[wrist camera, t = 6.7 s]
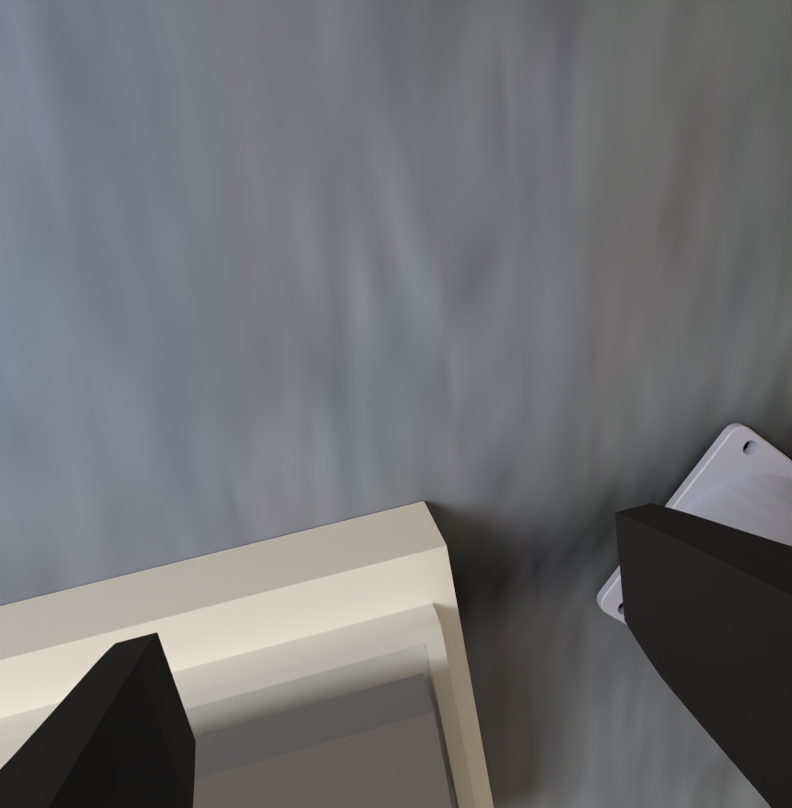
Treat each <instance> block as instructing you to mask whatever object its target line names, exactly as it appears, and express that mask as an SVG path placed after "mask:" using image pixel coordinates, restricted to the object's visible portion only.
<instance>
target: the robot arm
mask: <svg viewBox="0 0 792 808" xmlns="http://www.w3.org/2000/svg"><path fill="white" fill-rule="evenodd" d="M748 441H749V445H748V447H747V448H746V449H745V450H743V447H744V445H745V443H746V442H748ZM615 518H616V529H617V541H618V553H619V564H620V565H619V567H618V568H617V569H616V570H615V572H614V573H613V574H612V576H611V577H610V578H609V579H608V581H607V582H606V583H605V585H604V586H603V587H602V589H601V590H600V591H599V593H598V595H597V603H598V605H599V607H600V608H601V609H602V610H603V611H604V612H605V613H607V614H608V615H610V616H612V617H614V618H615V619H617V620H619V621H621V622H622V623H624V624H626V625H627V626H628V627H629V629H630V630H631V632H632V633H633V635H634V637H635V638H636V640H637V641H638V643H639V645H640V646H641V648H642V649H643V651H644V652H645V654H646V655H647V657H648V658H649V660H650V661H651V663H652V664H653V666H654V667H655V669H656V670H657V672H658V673H659V675H660V676H661V677H662V679H663V680H664V681H665V682H666V683H667V685H668V686H669V687H670V688H671V690H672V691H673V692H674V693H675V694H676V696H677V697H678V698H679V699H680V700H681V701H682V703H683V704H684V705H685V706H686V707H687V709H688V710H689V711H690V712H691V713H692V715H693V716H694V717H695V718H696V719H697V721H698V722H699V723H700V724H701V725H702V726H703V728H704V729H705V730H706V731H707V732H708V733H709V735H710V736H711V737H712V738H713V739H714V740H715V742H716V743H717V744H718V745H719V746H720V748H721V749H722V750H723V751H724V752H725V753H726V755H727V756H728V757H729V758H730V759H731V760H732V762H733V763H734V764H735V765H736V766H737V767H738V769H739V770H740V771H741V772H742V773H743V775H744V776H745V777H746V778H747V779H748V780H749V782H750V783H751V784H752V785H753V786H754V787H755V789H756V790H757V791H758V792H759V793H760V794H761V796H762V797H763V798H764V799H765V800H766V802H767V803H768V804H769V805H770V807H771V808H792V460H790V459H789V458H788V457H787V456H785V455H784V454H783V453H781V452H780V451H779V450H777V449H776V448H775V447H773V446H772V445H771V444H769V443H768V442H767V441H765V440H764V439H763V438H761V437H760V436H759V435H757V434H756V433H755V432H753V431H752V430H751V429H749V428H748V427H746V426H743V425H741V424H739V423H734V424H731V425H729V426H727V427H726V428H725V429H724V430H723V431H722V433H721V434H720V435H719V437H718V438H717V439H716V441H715V442H714V443H713V444H712V446H711V447H710V448H709V450H708V451H707V452H706V454H705V455H704V456H703V457H702V459H701V460H700V461H699V463H698V464H697V465H696V467H695V468H694V469H693V470H692V472H691V473H690V474H689V476H688V477H687V478H686V480H685V481H684V482H683V483H682V485H681V486H680V487H679V489H678V490H677V491H676V492H675V494H674V495H673V496H672V498H671V499H670V500H669V502H668V503H667V504H666V505H665V507H664V506H660V505H656V504H651V503H650V504H646V505H643V506H639V507H635V508H631V509H627V510H623V511H620V512H616V513H615ZM621 603H623V607H621V608H618V607H619V605H620V604H621ZM195 752H196V740H195V738H194V735H193V732H192V729H191V726H190V724H189V721H188V718H187V715H186V712H185V709H184V707H183V704H182V701H181V698H180V695H179V692H178V690H177V687H176V684H175V681H174V678H173V675H172V673H171V670H170V667H169V664H168V661H167V658H166V656H165V653H164V650H163V647H162V644H161V642H160V639H159V636H158V633H157V632H156V633H152V634H149V635H145V636H141V637H137V638H133V639H129V640H126V641H122V642H118V643H115V644H114V645H113V646H112V647H111V648H110V649H109V650H108V651H107V652H106V653H105V654H104V655H103V656H102V657H101V658H100V659H99V660H98V661H97V662H96V663H95V664H94V666H93V667H92V668H91V669H90V670H89V671H88V672H87V673H86V674H85V676H84V677H83V678H82V679H81V680H80V681H79V682H78V684H77V685H76V686H75V687H74V688H73V689H72V690H71V691H70V693H69V694H68V695H67V696H66V697H65V698H64V699H63V701H62V702H61V703H60V704H59V705H58V706H57V707H56V708H55V710H54V711H53V712H52V713H51V714H50V715H49V716H48V717H47V719H46V720H45V721H44V722H43V723H42V724H41V725H40V726H39V727H38V729H37V730H36V731H35V732H34V733H33V734H32V735H31V736H30V737H29V739H28V740H27V741H26V742H25V743H24V744H23V745H22V746H21V748H20V749H19V750H18V751H17V752H16V753H15V754H14V755H13V756H12V757H11V758H10V760H9V761H8V762H7V763H6V764H5V765H4V766H3V767H2V768H1V769H0V808H193V798H194V781H195Z"/></svg>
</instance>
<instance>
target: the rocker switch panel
mask: <svg viewBox="0 0 792 808" xmlns="http://www.w3.org/2000/svg"><path fill="white" fill-rule="evenodd" d="M156 632H157V633H158V636H159V639H160V642H161V644H162V647H163V650H164V653H165V656H166V658H167V661H168V664H169V667H170V670H171V673H172V675H173V678H174V681H175V684H176V687H177V690H178V692H179V695H180V698H181V701H182V704H183V707H184V709H185V712H186V715H187V718H188V721H189V724H190V726H191V729H192V732H193V735H194V737H195V736H198V735H202V734H205V733H209V732H213V731H216V730H220V729H223V728H227V727H231V726H234V725H238V724H241V723H245V722H249V721H252V720H256V719H259V718H263V717H266V716H270V715H274V714H277V713H281V712H284V711H288V710H292V709H295V708H299V707H302V706H306V705H310V704H313V703H317V702H320V701H324V700H328V699H331V698H335V697H338V696H342V695H346V694H349V693H353V692H356V691H360V690H363V689H367V688H371V687H374V686H378V685H381V684H385V683H389V682H392V681H396V680H399V679H403V678H407V677H410V676H414V675H417V674H421V673H423V675H424V679H425V682H426V685H427V689H428V692H429V695H430V699H431V702H432V706H433V709H434V713H435V718H436V724H437V729H438V734H439V740H440V745H441V750H442V756H443V761H444V767H445V772H446V777H447V783H448V788H449V794H450V799H451V804H452V808H494V806H493V801H492V795H491V790H490V784H489V778H488V773H487V767H486V762H485V756H484V751H483V745H482V740H481V734H480V728H479V723H478V717H477V712H476V706H475V701H474V695H473V690H472V684H471V678H470V673H469V667H468V662H467V656H466V651H465V645H464V640H463V634H462V628H461V623H460V617H459V612H458V606H457V601H456V595H455V590H454V584H453V578H452V573H451V567H450V562H449V556H448V551H447V545H446V543H445V541H444V539H443V538H442V536H441V534H440V532H439V530H438V528H437V526H436V524H435V522H434V520H433V518H432V516H431V514H430V512H429V510H428V508H427V506H426V504H425V502H424V501H422V502H418V503H414V504H410V505H406V506H402V507H398V508H394V509H390V510H386V511H382V512H378V513H374V514H370V515H366V516H362V517H358V518H354V519H350V520H345V521H341V522H337V523H333V524H329V525H325V526H321V527H317V528H313V529H309V530H305V531H301V532H297V533H293V534H289V535H285V536H281V537H277V538H273V539H269V540H265V541H261V542H257V543H253V544H249V545H245V546H241V547H237V548H233V549H228V550H224V551H220V552H216V553H212V554H208V555H204V556H200V557H196V558H192V559H188V560H184V561H180V562H176V563H172V564H168V565H164V566H160V567H156V568H152V569H148V570H144V571H140V572H136V573H132V574H128V575H124V576H120V577H116V578H111V579H107V580H103V581H99V582H95V583H91V584H87V585H83V586H79V587H75V588H71V589H67V590H63V591H59V592H55V593H51V594H47V595H43V596H39V597H35V598H31V599H27V600H23V601H19V602H15V603H11V604H7V605H3V606H0V769H1V768H2V767H3V766H4V765H5V764H6V763H7V762H8V761H9V760H10V758H11V757H12V756H13V755H14V754H15V753H16V752H17V751H18V750H19V749H20V748H21V746H22V745H23V744H24V743H25V742H26V741H27V740H28V739H29V737H30V736H31V735H32V734H33V733H34V732H35V731H36V730H37V729H38V727H39V726H40V725H41V724H42V723H43V722H44V721H45V720H46V719H47V717H48V716H49V715H50V714H51V713H52V712H53V711H54V710H55V708H56V707H57V706H58V705H59V704H60V703H61V702H62V701H63V699H64V698H65V697H66V696H67V695H68V694H69V693H70V691H71V690H72V689H73V688H74V687H75V686H76V685H77V684H78V682H79V681H80V680H81V679H82V678H83V677H84V676H85V674H86V673H87V672H88V671H89V670H90V669H91V668H92V667H93V666H94V664H95V663H96V662H97V661H98V660H99V659H100V658H101V657H102V656H103V655H104V654H105V653H106V652H107V651H108V650H109V649H110V648H111V647H112V646H113V645H114V644H115V643H118V642H122V641H126V640H129V639H133V638H137V637H141V636H145V635H149V634H152V633H156Z"/></svg>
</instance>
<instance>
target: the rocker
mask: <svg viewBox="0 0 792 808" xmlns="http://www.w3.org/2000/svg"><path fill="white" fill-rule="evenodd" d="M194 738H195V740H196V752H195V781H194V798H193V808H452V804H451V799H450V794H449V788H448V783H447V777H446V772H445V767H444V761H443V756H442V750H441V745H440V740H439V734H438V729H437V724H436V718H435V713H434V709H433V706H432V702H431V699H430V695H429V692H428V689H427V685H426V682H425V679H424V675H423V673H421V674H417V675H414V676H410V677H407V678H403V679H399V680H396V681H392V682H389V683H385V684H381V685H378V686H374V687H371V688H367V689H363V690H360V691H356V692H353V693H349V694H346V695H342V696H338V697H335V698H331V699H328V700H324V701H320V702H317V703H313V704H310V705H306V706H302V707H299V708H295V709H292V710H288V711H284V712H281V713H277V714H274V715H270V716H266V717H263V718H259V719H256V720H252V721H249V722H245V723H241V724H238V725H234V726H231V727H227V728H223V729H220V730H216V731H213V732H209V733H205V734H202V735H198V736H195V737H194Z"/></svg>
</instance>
